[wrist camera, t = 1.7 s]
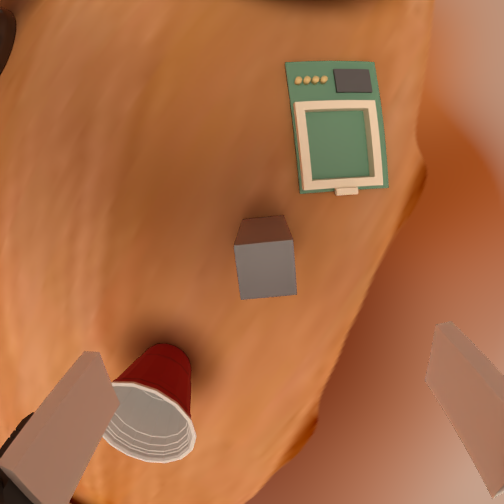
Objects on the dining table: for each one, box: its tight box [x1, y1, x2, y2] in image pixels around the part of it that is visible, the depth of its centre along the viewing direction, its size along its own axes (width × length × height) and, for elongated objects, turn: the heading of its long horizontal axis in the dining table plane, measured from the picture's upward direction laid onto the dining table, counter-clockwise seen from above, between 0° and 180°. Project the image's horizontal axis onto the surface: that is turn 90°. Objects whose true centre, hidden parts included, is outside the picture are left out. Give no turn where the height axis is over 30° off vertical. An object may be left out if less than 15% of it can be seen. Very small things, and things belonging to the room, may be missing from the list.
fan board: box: [285, 61, 389, 196], centre depth 27 cm, size 13×9×3 cm
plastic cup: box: [102, 344, 196, 463], centre depth 30 cm, size 11×11×12 cm
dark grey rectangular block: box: [234, 215, 297, 300], centre depth 27 cm, size 5×4×10 cm
